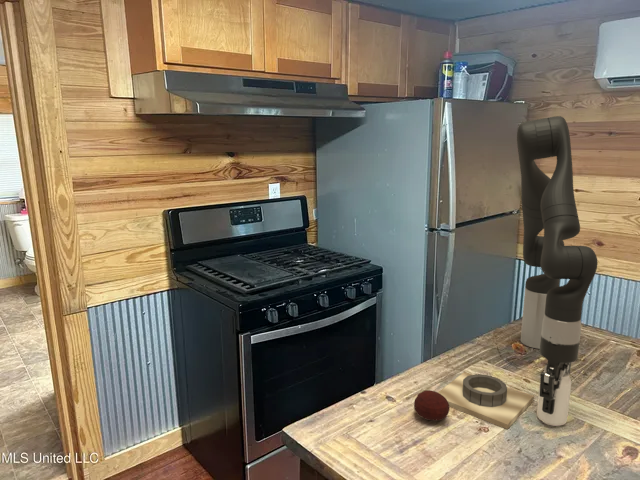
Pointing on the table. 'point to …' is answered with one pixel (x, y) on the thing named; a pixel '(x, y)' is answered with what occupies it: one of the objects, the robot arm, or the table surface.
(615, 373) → the table surface
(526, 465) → the table surface
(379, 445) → the table surface
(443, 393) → the ring board
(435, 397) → the potato
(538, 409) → the beverage can
